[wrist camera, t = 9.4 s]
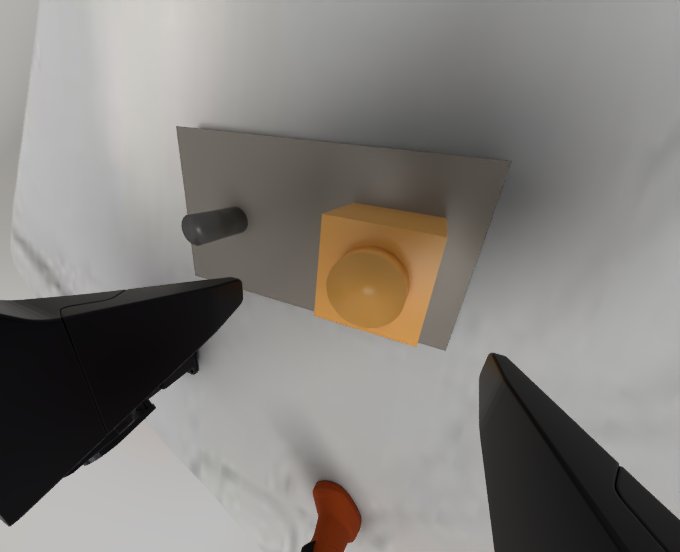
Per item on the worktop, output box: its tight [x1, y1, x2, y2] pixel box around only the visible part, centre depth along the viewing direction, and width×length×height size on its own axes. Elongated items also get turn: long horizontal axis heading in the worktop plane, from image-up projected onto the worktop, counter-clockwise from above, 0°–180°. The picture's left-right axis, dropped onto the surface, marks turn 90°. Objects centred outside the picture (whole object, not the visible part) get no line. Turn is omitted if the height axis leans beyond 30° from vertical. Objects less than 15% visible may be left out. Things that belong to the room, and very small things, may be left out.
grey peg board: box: [176, 126, 511, 351], centre depth 18 cm, size 22×12×6 cm, turn 84°
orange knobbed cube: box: [314, 203, 448, 347], centre depth 14 cm, size 6×6×6 cm
